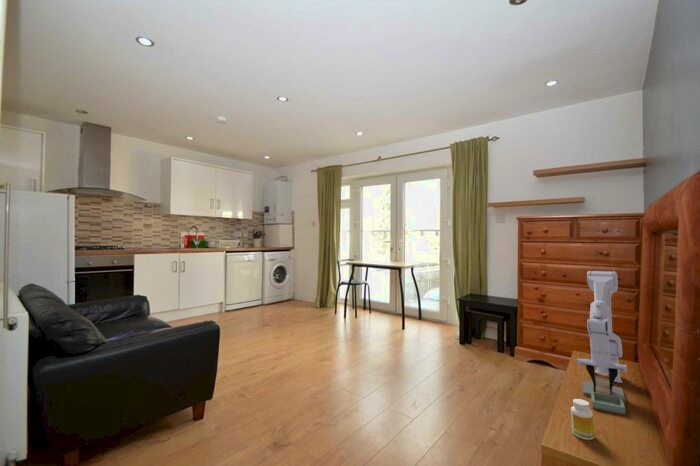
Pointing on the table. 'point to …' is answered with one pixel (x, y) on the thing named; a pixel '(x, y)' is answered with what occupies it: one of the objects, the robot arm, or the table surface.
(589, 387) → the holder board
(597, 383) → the block
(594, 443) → the table surface
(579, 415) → the supplement bottle
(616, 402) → the tray
